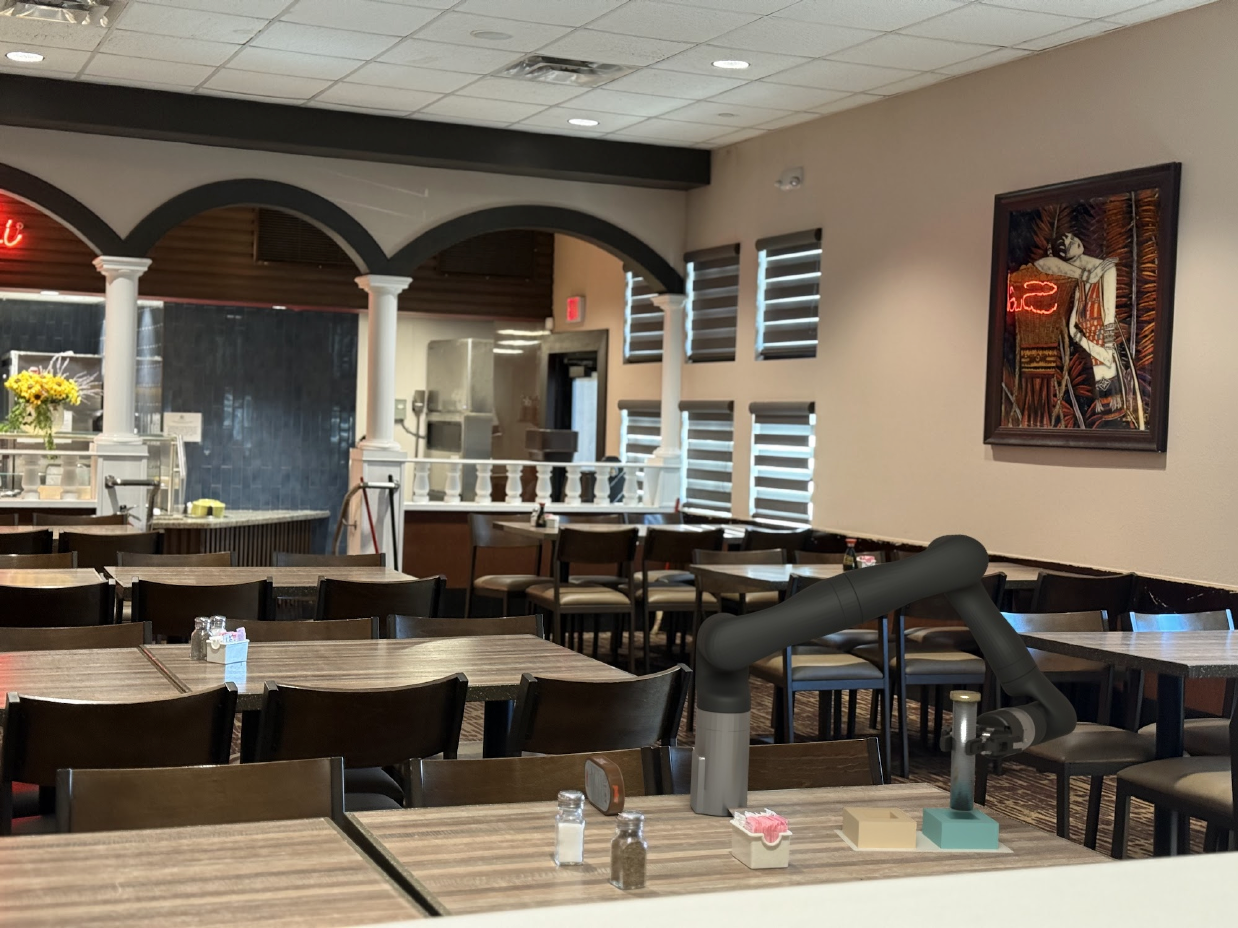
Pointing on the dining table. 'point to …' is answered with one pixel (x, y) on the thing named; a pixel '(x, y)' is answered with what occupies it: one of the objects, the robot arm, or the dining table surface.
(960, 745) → the pin
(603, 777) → the tin
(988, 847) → the dock
